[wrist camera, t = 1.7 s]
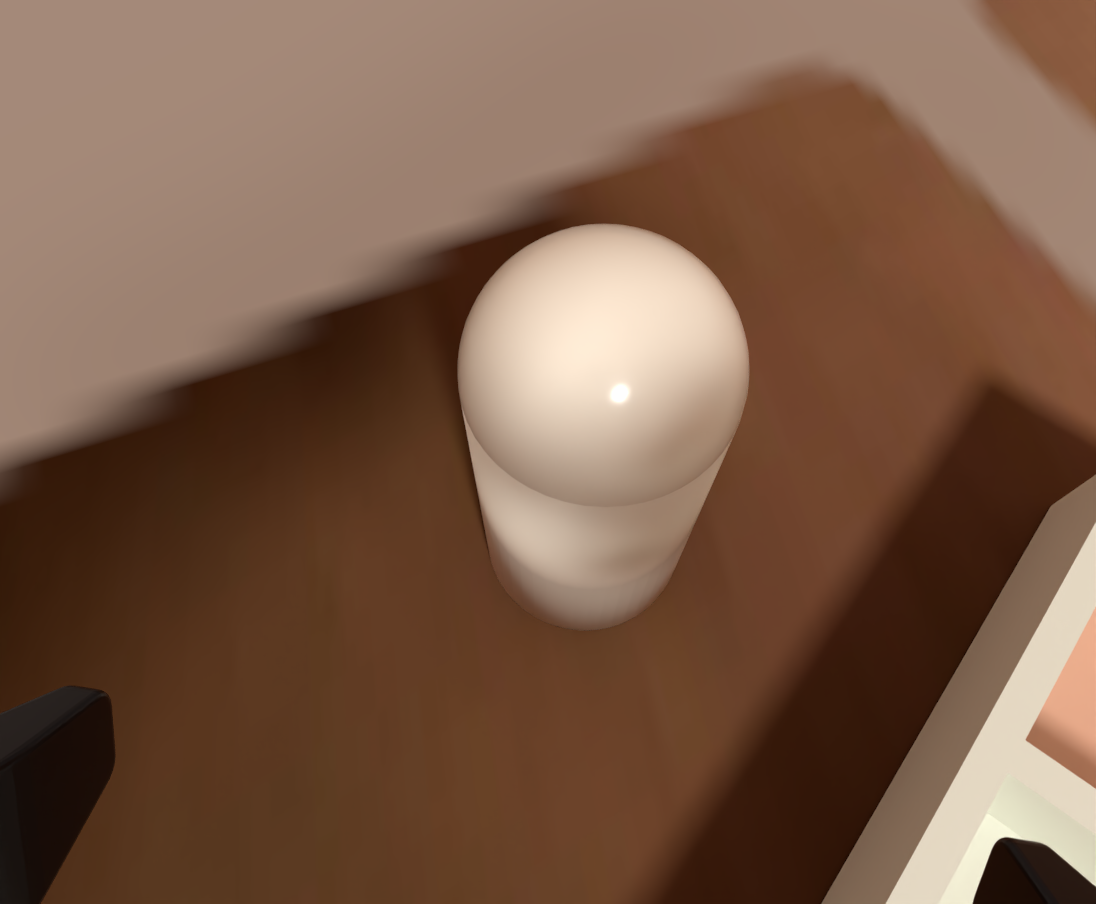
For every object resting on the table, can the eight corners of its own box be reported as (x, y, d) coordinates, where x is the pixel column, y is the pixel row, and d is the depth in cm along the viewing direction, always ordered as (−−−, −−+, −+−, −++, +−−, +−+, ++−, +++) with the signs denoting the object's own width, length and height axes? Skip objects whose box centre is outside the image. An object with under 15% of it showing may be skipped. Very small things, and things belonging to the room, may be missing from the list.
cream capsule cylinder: (604, 671, 23) (653, 511, 12) (448, 552, 24) (372, 314, 14) (715, 519, 25) (843, 263, 14) (565, 416, 26) (577, 110, 15)
